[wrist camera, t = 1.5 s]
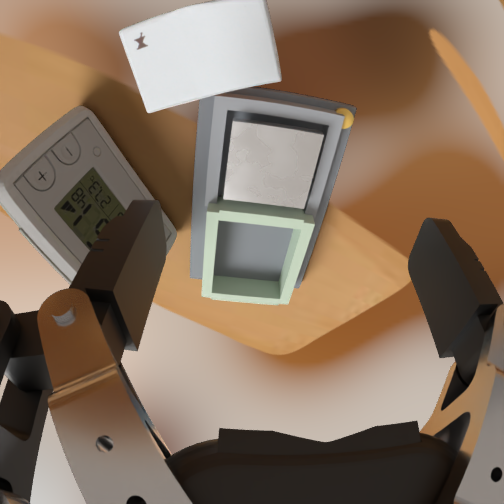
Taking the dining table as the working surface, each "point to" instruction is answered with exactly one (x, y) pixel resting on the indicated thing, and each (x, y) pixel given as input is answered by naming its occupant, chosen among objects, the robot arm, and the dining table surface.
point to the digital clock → (70, 190)
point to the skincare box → (202, 51)
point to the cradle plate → (271, 163)
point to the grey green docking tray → (256, 214)
